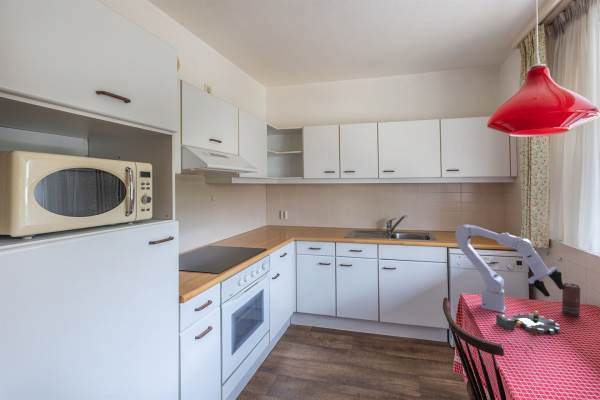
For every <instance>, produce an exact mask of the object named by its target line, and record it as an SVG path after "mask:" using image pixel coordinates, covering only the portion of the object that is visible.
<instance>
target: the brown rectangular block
mask: <svg viewBox="0 0 600 400" xmlns="http://www.w3.org/2000/svg"><path fill="white" fill-rule="evenodd" d="M537 331H538V328H535V327H531V331H530V334H531V335H534V336H538V332H537Z"/></svg>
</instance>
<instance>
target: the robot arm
mask: <svg viewBox="0 0 600 400" xmlns="http://www.w3.org/2000/svg"><path fill="white" fill-rule="evenodd" d="M454 235H455V238H456V243H457V246H458V248H459V250H461V252H462V253H463V254H464V255H465V256H466V258H467V259H468V260H469V261H470V263H471V264H472V265H473V266H474V267H475V269H476V270H477V271H478V272H479V273H480V275H481V276H482V280H483V281H484V283H485V284H486V287H487V288H482V290H481V309H484V310H489V311H494V312H499V313H501V314H502V313H505V312H506V309H507V306H505V289H504V286H505V285H506V280H505V279H504V277H502V276H501V275H499V274H498V273H497V272H496V271H494V270H493V269H492V268H491V267H490V266H489V265H488V264H487V263H486V261H485V260H484V259H483V258H482V257H481V255H480V254H479V253H478V252H477V250H475V248H474V247H473V246H472V245H471V238H472V237H476V236H480V237H485V238H488V239H491V240H495V241H496V242H497V243H498V244H499V245H502V246H505V247H508V248H511V249H514V250H516V251H517V252H518V253H520V254H521V256H522V258H523V260H524V261H525V262H526V263H527V265H528V267H529V268H530V270H531V271H532V273H533V275H532V276H531V277H529V278H528V279H526V280H527V282H528V283H529V284H530V285H531V286H532V287H534V288H535V289H537V290H538V291H540V293H541V294H543V296H545V297H547V298H548V297H550V296H551V295H550V293H549V290H547V287H546V286H545V283H544V280H541V279H544V278H546V277H549V278H550V279H551V281H553V283H554V284H555V286H557V288H558V290H563V289H565V288H564V286H563V285H564V283H563V278H562V272H561V271H560V269H559V267H558V266H552V267H550V268H548V267H547V265H546V263H545V262H544V261H543V259H542V258H541V256H540V255H539V253H538V252H537V251H536V250H535V247H533V243H532V241H531V240H530V239H528V238H525V237H522V238H521V236H515V235H513V234H510V233H509V232H501V233H498V232H494V231H491V230H489V229H485V228H483V227H481V226H478V225H473V224H472V225H471V224H469V223H465V224H463V225H460V226H459V225H458V227H456V230H455V232H454ZM540 280H541V281H540Z"/></svg>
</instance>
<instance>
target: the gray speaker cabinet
mask: <svg viewBox="0 0 600 400" xmlns="http://www.w3.org/2000/svg"><path fill="white" fill-rule="evenodd" d="M495 318H496V319H495V324H496V325H498V326H499V327H500V328H502V329H503V330H505V331H515V330H516V323H515V321H514V320H513V318H512V317H510V316H508V315H507V314H502V313H500V314H496V315H495Z"/></svg>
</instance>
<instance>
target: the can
mask: <svg viewBox="0 0 600 400" xmlns="http://www.w3.org/2000/svg"><path fill="white" fill-rule="evenodd" d="M563 286H564V288H565V289H562V296H561V298H562V300H561V301H562V302H561V304H562V305H561V306H562V307H561V312H562V314H563V315H565V316H568V317H574V318H577V317H579V316H580V310H581V287H580V285H579V284H575V283H570V282H567V283H563Z"/></svg>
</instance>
